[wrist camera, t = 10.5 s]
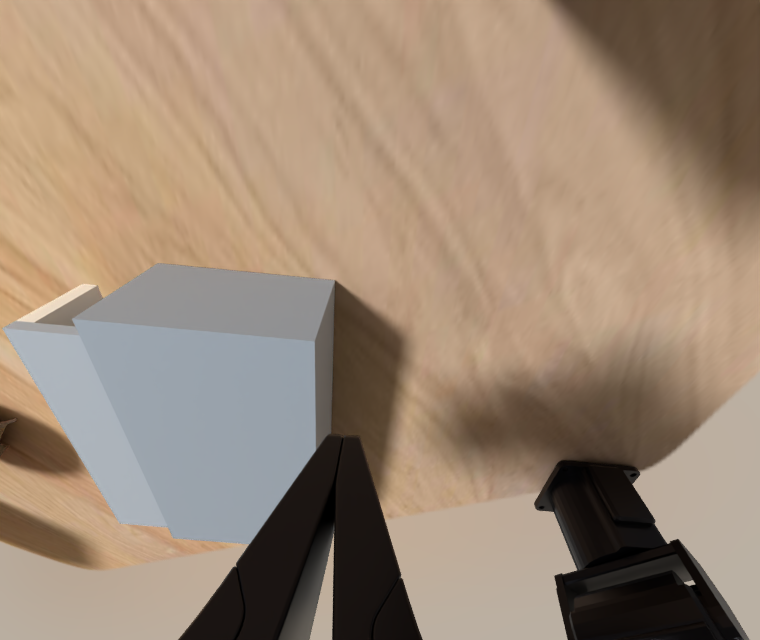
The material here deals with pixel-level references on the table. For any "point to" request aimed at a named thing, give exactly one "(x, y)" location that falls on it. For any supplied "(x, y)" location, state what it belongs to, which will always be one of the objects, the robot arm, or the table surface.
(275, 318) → the carton
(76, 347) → the l-shaped bar
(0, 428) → the fruit
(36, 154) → the table surface
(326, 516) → the robot arm
